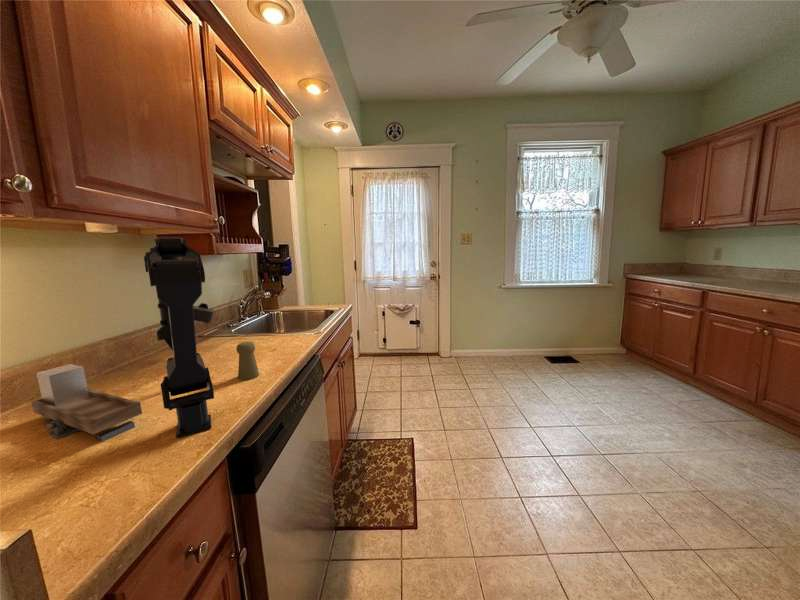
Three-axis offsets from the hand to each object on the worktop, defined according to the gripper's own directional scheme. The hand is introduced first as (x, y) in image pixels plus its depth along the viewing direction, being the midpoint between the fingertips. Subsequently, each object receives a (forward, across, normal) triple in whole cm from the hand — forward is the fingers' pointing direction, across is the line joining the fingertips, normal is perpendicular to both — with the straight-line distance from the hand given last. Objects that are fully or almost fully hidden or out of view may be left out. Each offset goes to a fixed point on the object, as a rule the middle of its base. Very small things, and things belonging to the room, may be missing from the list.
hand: (180, 357), depth 82 cm
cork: (+12, +9, -16) cm, 22 cm away
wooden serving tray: (+10, 0, +19) cm, 21 cm away
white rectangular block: (+8, +7, +24) cm, 26 cm away
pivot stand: (+12, 0, +19) cm, 22 cm away
